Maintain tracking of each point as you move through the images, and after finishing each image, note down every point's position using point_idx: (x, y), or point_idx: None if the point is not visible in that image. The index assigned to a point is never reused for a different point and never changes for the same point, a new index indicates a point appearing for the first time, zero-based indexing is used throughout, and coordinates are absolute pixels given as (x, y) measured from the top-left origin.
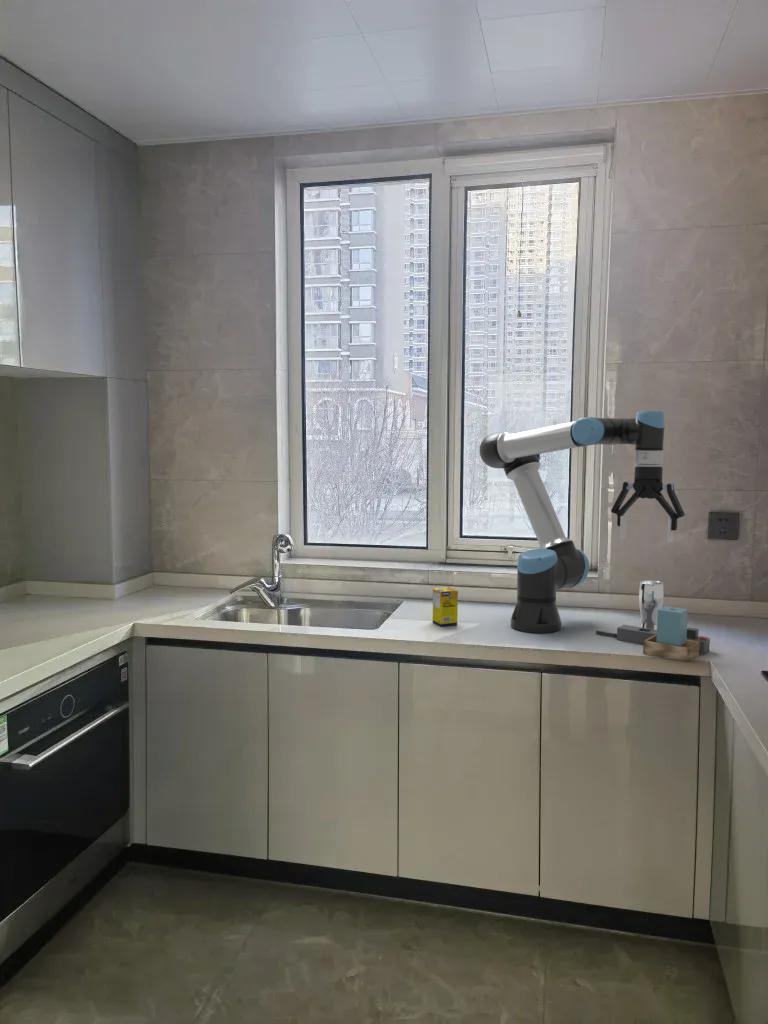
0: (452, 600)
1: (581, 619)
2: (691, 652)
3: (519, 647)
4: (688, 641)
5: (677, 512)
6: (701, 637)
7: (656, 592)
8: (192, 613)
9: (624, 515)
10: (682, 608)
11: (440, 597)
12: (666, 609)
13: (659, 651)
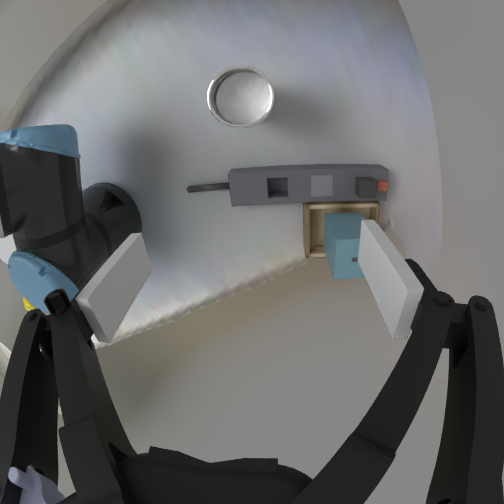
0: None
1: (116, 116)
2: None
3: (168, 315)
4: (362, 206)
5: (455, 362)
6: (380, 190)
7: (267, 117)
8: (4, 348)
9: (86, 309)
10: None
11: (44, 315)
12: (346, 266)
13: None
